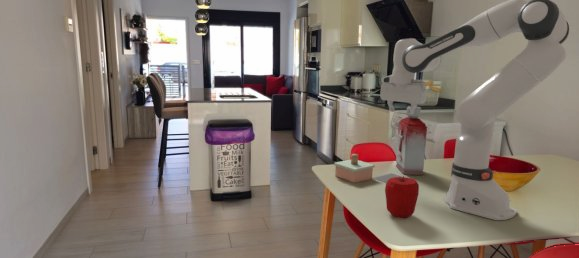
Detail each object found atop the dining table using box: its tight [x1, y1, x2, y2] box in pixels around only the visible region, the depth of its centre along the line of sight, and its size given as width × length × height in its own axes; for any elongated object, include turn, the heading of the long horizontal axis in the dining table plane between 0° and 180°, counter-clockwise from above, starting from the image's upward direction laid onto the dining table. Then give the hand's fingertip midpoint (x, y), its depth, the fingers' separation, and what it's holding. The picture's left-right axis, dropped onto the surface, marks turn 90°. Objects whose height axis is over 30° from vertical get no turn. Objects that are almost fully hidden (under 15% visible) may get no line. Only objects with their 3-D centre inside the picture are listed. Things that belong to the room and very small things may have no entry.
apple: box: [384, 175, 420, 219], centre depth 122 cm, size 11×10×14 cm
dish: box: [334, 166, 374, 184], centre depth 161 cm, size 11×11×6 cm
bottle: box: [395, 105, 428, 176], centre depth 170 cm, size 14×10×30 cm
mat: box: [372, 172, 403, 184], centre depth 159 cm, size 13×13×1 cm
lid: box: [333, 153, 376, 172], centre depth 160 cm, size 12×12×5 cm
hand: (401, 112), depth 156 cm, fingers open, 8 cm apart
